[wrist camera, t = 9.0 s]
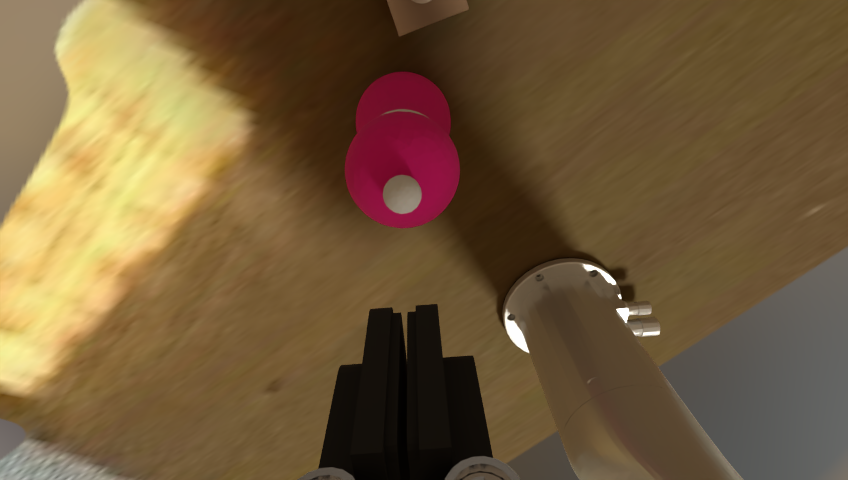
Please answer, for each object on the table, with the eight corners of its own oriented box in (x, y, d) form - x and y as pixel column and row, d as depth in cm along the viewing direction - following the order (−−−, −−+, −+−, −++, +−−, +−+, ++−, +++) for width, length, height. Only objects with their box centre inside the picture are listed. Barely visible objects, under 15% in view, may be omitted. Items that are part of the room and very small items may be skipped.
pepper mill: (389, 46, 34) (372, 81, 16) (462, 98, 36) (517, 178, 19) (345, 123, 37) (290, 224, 19) (416, 167, 39) (425, 295, 21)
